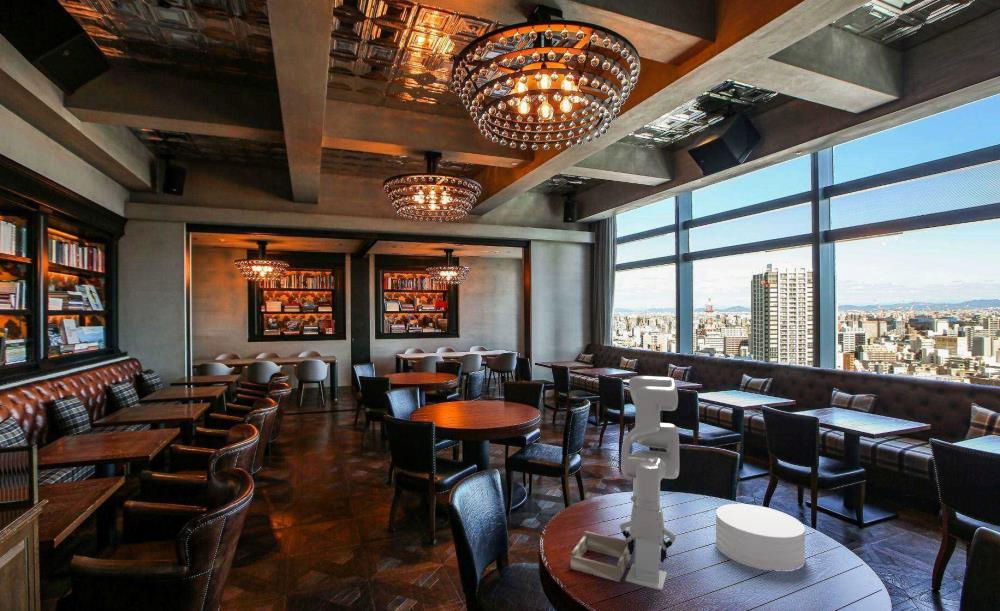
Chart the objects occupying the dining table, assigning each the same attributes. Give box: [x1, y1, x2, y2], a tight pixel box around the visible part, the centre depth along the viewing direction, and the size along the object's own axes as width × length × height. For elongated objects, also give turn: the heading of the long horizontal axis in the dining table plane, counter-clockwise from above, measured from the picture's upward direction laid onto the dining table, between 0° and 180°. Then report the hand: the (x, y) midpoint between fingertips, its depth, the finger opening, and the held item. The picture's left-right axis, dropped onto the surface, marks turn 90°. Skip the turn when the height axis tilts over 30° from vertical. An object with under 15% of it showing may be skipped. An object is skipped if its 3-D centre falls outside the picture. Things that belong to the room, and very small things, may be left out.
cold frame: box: [570, 530, 632, 583], centre depth 161 cm, size 16×16×6 cm
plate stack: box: [715, 503, 806, 571], centre depth 172 cm, size 28×28×12 cm
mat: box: [625, 562, 668, 591], centre depth 153 cm, size 11×11×1 cm
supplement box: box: [634, 538, 661, 583], centre depth 153 cm, size 7×7×13 cm
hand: (646, 556), depth 153 cm, fingers open, 9 cm apart
